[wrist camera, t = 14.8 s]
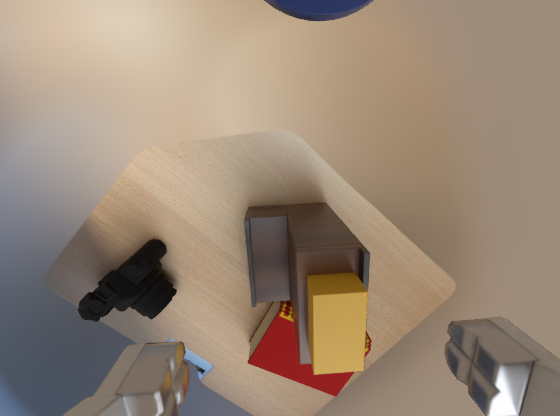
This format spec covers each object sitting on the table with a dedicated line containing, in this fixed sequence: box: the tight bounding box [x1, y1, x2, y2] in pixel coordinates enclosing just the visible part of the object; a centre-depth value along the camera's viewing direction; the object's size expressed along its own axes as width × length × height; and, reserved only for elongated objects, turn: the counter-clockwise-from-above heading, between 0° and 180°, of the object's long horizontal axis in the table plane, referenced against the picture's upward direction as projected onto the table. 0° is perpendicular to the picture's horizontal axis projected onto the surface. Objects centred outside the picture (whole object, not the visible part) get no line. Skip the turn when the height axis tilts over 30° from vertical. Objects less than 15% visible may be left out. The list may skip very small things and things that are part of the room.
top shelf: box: [295, 244, 370, 364], centre depth 28 cm, size 14×7×2 cm, turn 3°
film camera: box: [78, 240, 177, 322], centre depth 41 cm, size 15×10×9 cm, turn 131°
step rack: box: [245, 203, 362, 355], centre depth 37 cm, size 14×13×17 cm
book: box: [248, 300, 372, 396], centre depth 48 cm, size 18×13×5 cm
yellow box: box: [307, 272, 368, 375], centre depth 26 cm, size 5×9×4 cm, turn 2°
